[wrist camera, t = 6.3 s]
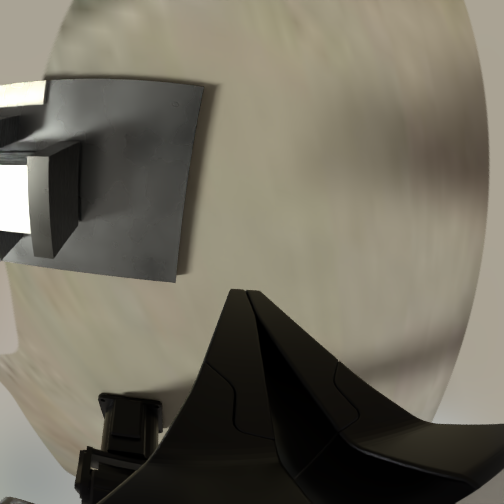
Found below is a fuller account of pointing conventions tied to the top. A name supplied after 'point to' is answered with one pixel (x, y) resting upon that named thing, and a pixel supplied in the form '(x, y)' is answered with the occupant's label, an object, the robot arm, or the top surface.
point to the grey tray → (110, 169)
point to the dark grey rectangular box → (41, 195)
